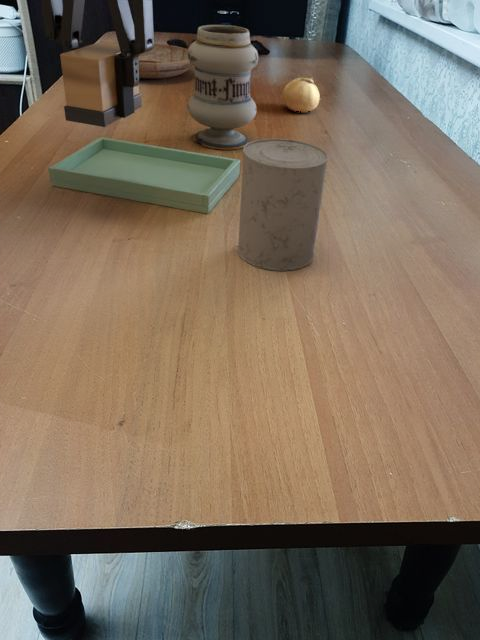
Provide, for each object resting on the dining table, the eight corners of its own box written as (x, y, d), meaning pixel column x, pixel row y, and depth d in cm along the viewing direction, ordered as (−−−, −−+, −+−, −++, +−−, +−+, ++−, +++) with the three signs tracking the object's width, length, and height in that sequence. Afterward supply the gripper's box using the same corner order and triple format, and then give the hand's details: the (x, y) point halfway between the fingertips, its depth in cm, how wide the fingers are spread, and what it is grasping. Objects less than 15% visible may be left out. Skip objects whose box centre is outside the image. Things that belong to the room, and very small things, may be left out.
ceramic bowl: (111, 60, 149) (109, 38, 146) (201, 68, 149) (201, 47, 146) (86, 79, 130) (83, 55, 127) (188, 89, 131) (188, 65, 128)
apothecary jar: (174, 137, 103) (171, 23, 92) (223, 127, 110) (227, 20, 99) (218, 156, 96) (222, 37, 85) (268, 144, 103) (277, 32, 93)
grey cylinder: (329, 255, 71) (346, 157, 63) (276, 279, 65) (287, 174, 58) (275, 228, 76) (284, 133, 68) (221, 247, 70) (225, 147, 63)
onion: (282, 114, 120) (285, 78, 116) (280, 104, 126) (283, 69, 122) (319, 117, 121) (324, 81, 116) (315, 107, 127) (319, 72, 123)
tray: (51, 185, 81) (48, 167, 80) (101, 152, 93) (100, 136, 92) (208, 214, 78) (208, 195, 76) (239, 176, 90) (240, 159, 88)
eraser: (104, 127, 65) (99, 60, 61) (65, 120, 66) (57, 54, 62) (141, 106, 73) (139, 46, 69) (106, 100, 74) (101, 40, 70)
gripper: (185, -128, 57) (185, 114, 71) (24, -143, 60) (55, 93, 74) (154, -135, 51) (161, 131, 65) (-22, -151, 54) (21, 107, 68)
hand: (105, 110), depth 69 cm, fingers closed on eraser, 5 cm apart
